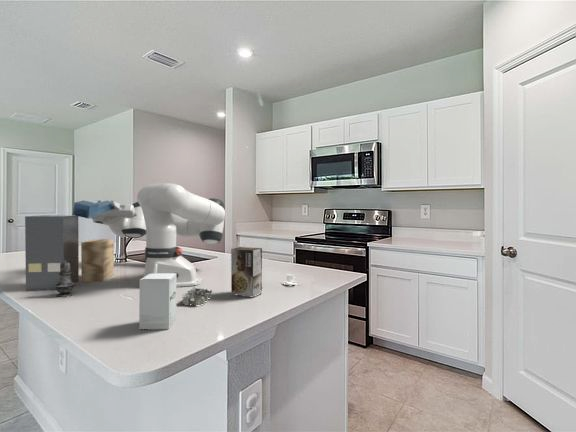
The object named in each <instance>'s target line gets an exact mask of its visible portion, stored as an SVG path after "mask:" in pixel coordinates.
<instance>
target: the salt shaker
mask: <svg viewBox="0 0 576 432" xmlns="http://www.w3.org/2000/svg"><path fill="white" fill-rule="evenodd" d="M71 273H72V272H70V263H68V262H66V260H64V262H63V263H61V264H60V273H59V275H60V281H59V283H58V284H56V285H55V287H56V290H55V291H56V292H58V293H57V294H56V295H55V297H56V298H68V297H67V296H69V297H72V295H73V296H74V295H75V294H76V293H75V292H73V290H74V289H75V287H76V284H77V283H73V282H72V281H71Z"/></svg>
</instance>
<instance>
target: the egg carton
mask: <svg viewBox="0 0 576 432" xmlns="http://www.w3.org/2000/svg"><path fill="white" fill-rule="evenodd" d="M212 294H213V290H212V289H211V290H208V288H206V289H204V288H200V287H199V288H197V287H194V286H192V288H191V289H190V290H187V292H185V293H182V294H181V299H182V304H185V305H189V306H191V305H190V304H195V305H201V304H204V305H205V303H206V302H205V301H207V302H208V301H209V299H208V298H211V299H212V296H211V295H212ZM193 297H195V298H193ZM185 305H184V306H185ZM195 305H194V306H195ZM201 306H202V305H201Z"/></svg>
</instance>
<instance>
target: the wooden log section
mask: <svg viewBox="0 0 576 432" xmlns="http://www.w3.org/2000/svg"><path fill="white" fill-rule="evenodd" d="M114 242H115V241H114V239H113V238H109V239H106V238H103V239H101V238H97V239H95V238H94V239H89V240H85V241H82V242H81V243H80V244H81V245H80V248H81V249H80V250H81V256H80V257H81V258H80V259H81V260H80V261H81V268H80V269H81V274H80V275H81V276H80V278H81V282H84V283H86V282H104V281H106V280H107V279H109V278H111V277H113V276H114V274H115V272H114V271H115V270H114V269H115V259H114V257H115V256H114V254H115V250H114V249H115V243H114Z"/></svg>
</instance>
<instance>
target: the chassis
mask: <svg viewBox="0 0 576 432" xmlns="http://www.w3.org/2000/svg"><path fill="white" fill-rule="evenodd" d="M24 227H25V228H24V231H25V232H24V235H25V241H24V242H25V244H24V245H25V246H24V247H25V250H24V251H25V291H28V292H29V291H54V290H55V291H57V290H56V287H55V285H56V284H58V283H59V281H60V275H59V273H60V264H61V263H63V262H64V260H66V262H68V263H70V272H72V273H71V281H72V282H73V283H76V284H77V283H79V282H80V279H79V277H80V273H79V271H80V269H79V267H80V266H79V265H80V264H79V258H80V257H79V255H80V254H79V216H75V215H52V214H51V215H29V216H28V215H27V216H24Z"/></svg>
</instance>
